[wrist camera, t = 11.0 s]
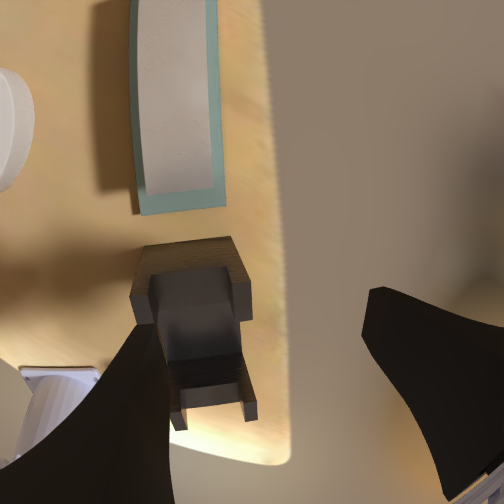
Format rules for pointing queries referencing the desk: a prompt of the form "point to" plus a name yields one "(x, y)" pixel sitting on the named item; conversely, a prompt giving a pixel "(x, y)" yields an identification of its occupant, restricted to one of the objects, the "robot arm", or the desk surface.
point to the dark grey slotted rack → (198, 321)
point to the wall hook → (14, 126)
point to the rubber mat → (218, 193)
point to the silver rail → (174, 96)
